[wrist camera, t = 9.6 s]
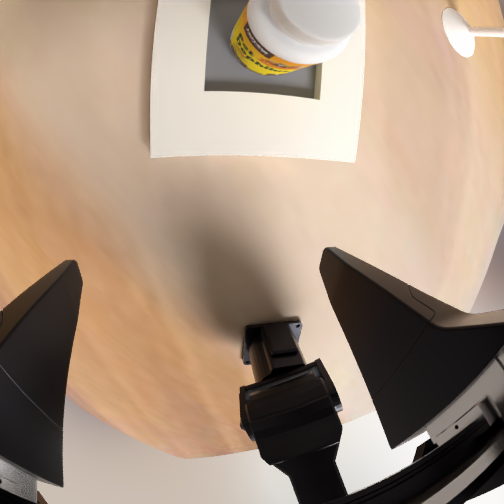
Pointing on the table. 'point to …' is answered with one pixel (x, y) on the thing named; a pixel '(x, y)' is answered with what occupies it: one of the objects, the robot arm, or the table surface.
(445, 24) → the champagne flute
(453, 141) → the table surface
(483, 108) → the table surface
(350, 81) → the socket plate
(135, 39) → the table surface
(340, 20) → the supplement bottle
